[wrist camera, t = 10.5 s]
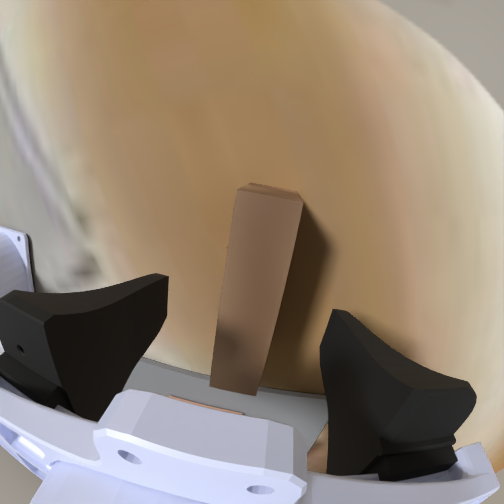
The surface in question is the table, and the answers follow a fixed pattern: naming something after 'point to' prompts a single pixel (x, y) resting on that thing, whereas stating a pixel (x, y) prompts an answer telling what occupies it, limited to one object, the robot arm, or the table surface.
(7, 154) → the table surface
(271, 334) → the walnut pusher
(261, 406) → the mat
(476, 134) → the table surface
